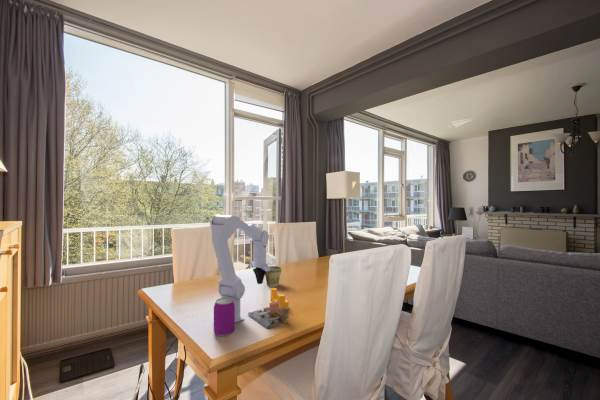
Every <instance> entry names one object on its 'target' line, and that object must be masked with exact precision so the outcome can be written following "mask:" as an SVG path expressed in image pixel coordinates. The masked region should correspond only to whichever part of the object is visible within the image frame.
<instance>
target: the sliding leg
mask: <svg viewBox="0 0 600 400" xmlns="http://www.w3.org/2000/svg"><path fill="white" fill-rule="evenodd" d="M269 308H270V310H269V311H268V312H264V313H261V314H259V316H260V315H264V314H267V313H271V314H274V313H279V302H273V303H272V302H270V303H269Z"/></svg>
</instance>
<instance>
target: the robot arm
mask: <svg viewBox="0 0 600 400" xmlns="http://www.w3.org/2000/svg"><path fill="white" fill-rule="evenodd" d="M209 225H210V229H211V242H212V245H213V249H214V254H215V257H216V260H217V266H218V268H219V273H220V275H221V278H220V279H219V280H218V283H217V284H218V293H219V296H220V295H221V296H220V297H221V298H231V299H233V302H234V305H235V323H238V322H241V321H244V320H245V318H244V317H243V316H242V315H241V299H243V296H244V295H245V290H246V288H245V285H244V284H243V282H242V279H241V278H240V277H239V276H238V275H237V274H236V271H235V267H234V264H233V263H234V262H233V258H232V255H231V250H230V248H229V242H228V239H231V238H232V236H233V235H234V233H235V232H236V230H240V231H242V232H243V234H244V235H245V236H246V237H248V238H250V239H251V240H252V242H254V244H253V248H254V249H253V261H251V262H250V266H251V267H254V268H253V269H252V271H253V273H254V275H255V279H256V283H257V285H262V284H263V283H264V279H265V277H266V276H265V274H266V272H267V271H270V267H269V266H270V265H269V263H268V262H267V246H268V240H269V238H270V235H269V232H268V231H267V230H265V229H261V227H260V226H259V227H258V226H256V223H246V222H245V221H244V220H242V219H241V218H240V217H239V216H237V215H235V214H232V215H229V214H215V215H213V217H212V219H211V220H210V223H209Z"/></svg>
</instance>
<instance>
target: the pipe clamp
mask: <svg viewBox="0 0 600 400" xmlns="http://www.w3.org/2000/svg"><path fill="white" fill-rule="evenodd" d="M273 302H279V309H280V308H284V307H287V308H289V305H290V303H289V301H288V299H286V295H285V294H284V293H283V294H278V288H276V287H271V288H270V303H273Z"/></svg>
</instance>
